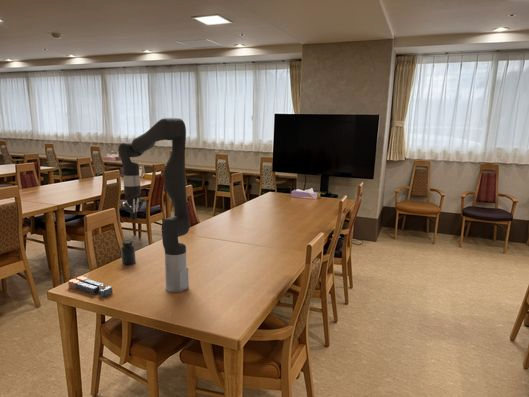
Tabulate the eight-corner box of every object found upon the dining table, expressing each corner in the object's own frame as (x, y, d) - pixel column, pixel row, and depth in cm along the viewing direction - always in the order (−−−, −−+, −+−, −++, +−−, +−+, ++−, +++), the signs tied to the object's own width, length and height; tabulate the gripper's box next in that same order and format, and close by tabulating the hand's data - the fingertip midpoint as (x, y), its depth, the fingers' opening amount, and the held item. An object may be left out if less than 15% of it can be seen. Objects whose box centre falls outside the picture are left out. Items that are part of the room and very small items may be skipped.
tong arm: (104, 290, 164) (104, 283, 164) (99, 292, 162) (99, 285, 161) (81, 282, 172) (80, 276, 171) (76, 284, 169) (75, 277, 169)
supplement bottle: (131, 259, 202) (130, 238, 199) (138, 262, 197) (137, 241, 195) (119, 263, 196) (118, 241, 194) (126, 266, 192) (125, 244, 190)
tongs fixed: (112, 293, 161) (112, 284, 161) (102, 298, 157) (101, 289, 156) (79, 283, 171) (78, 275, 170) (68, 287, 166) (68, 279, 165)
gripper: (127, 187, 170) (129, 223, 173) (147, 183, 182) (149, 217, 185) (115, 185, 173) (117, 221, 177) (136, 182, 185) (138, 215, 188)
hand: (134, 219), depth 181 cm, fingers closed
